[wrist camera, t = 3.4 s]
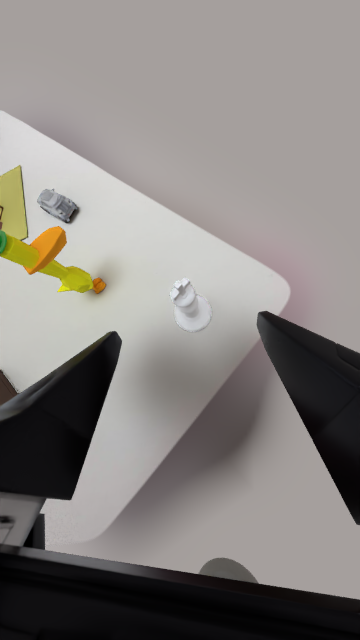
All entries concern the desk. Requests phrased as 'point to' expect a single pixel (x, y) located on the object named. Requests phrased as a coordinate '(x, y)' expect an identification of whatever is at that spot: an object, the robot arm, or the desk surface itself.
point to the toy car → (56, 204)
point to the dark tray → (5, 390)
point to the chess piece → (190, 307)
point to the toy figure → (48, 260)
